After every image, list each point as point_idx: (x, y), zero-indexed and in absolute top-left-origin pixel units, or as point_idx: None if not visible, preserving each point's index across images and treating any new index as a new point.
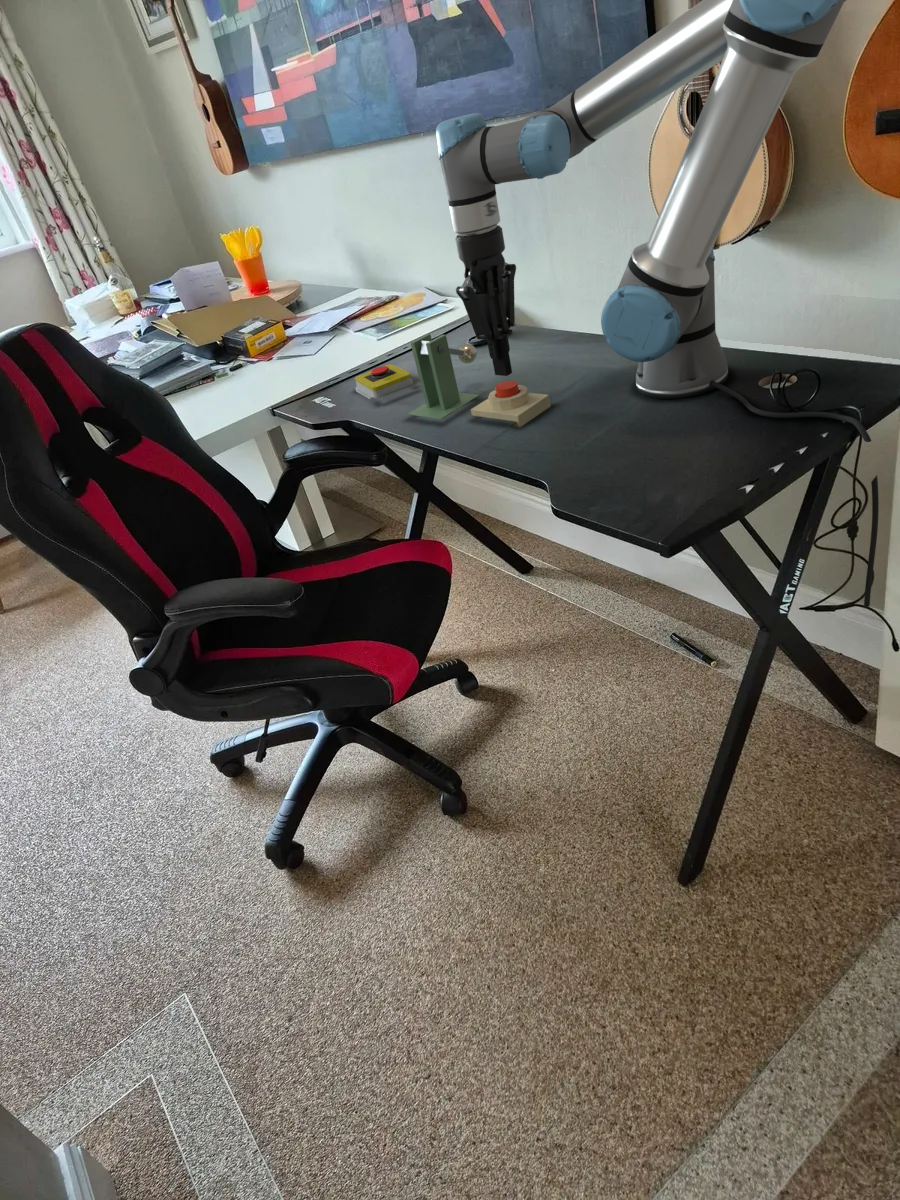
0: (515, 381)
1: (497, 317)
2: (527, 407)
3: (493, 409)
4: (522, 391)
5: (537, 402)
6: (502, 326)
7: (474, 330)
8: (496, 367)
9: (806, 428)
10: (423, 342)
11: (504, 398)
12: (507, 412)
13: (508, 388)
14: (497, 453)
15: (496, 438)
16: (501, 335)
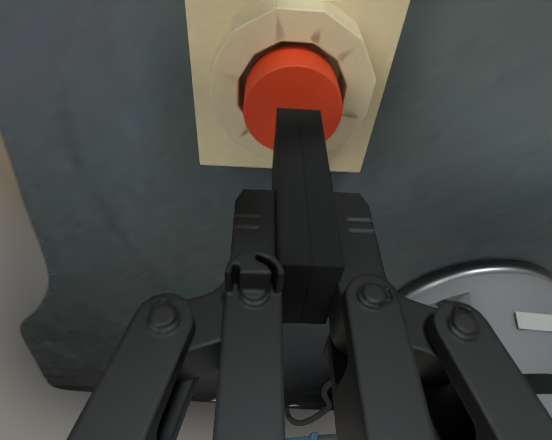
0: (333, 129)
1: (347, 435)
2: (260, 161)
3: (214, 50)
4: None
5: None
6: (331, 376)
7: (102, 379)
8: (275, 148)
9: (305, 398)
10: None
11: (237, 116)
12: (208, 122)
13: (263, 141)
14: (59, 167)
15: (119, 114)
16: (331, 306)
